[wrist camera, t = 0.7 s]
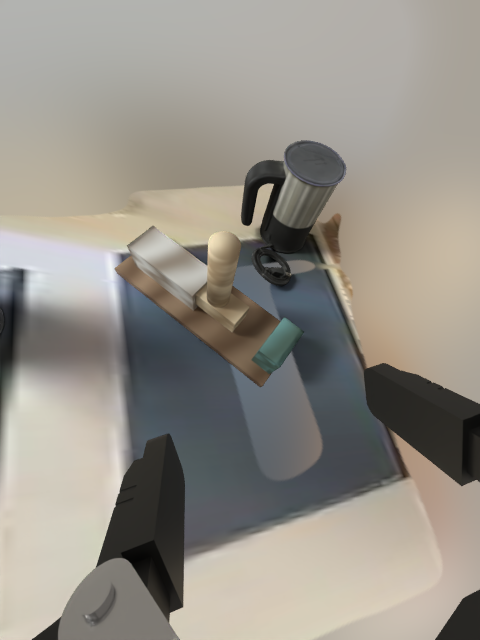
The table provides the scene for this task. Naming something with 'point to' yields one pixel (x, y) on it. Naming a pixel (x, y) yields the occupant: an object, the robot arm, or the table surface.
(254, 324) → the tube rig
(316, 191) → the milk frother
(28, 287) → the table surface
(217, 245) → the cream l-shaped piece
